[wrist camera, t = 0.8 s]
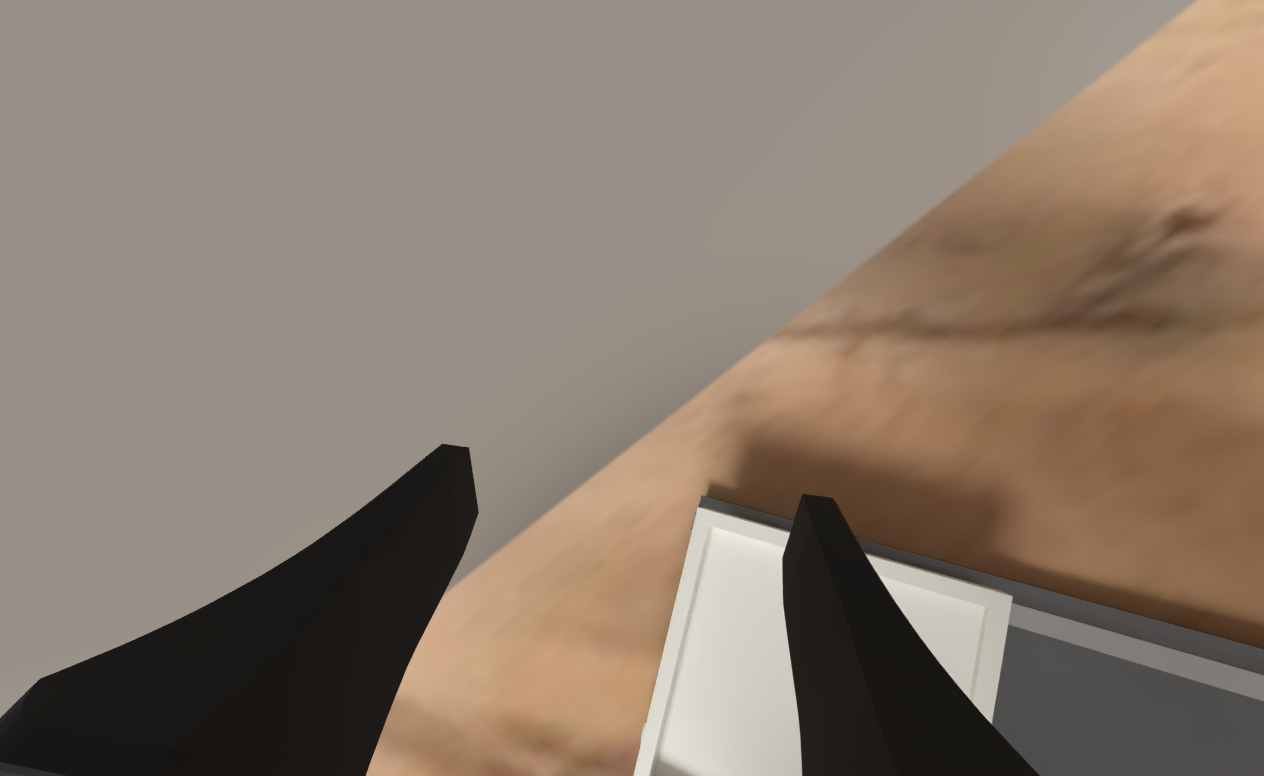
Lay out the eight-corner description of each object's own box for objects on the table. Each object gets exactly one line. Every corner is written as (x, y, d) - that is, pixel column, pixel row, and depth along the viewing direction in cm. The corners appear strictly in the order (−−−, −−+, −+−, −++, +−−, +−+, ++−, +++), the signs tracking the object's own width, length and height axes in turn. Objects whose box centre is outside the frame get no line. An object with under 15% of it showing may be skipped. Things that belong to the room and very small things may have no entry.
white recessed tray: (941, 904, 20) (952, 959, 18) (654, 761, 25) (630, 789, 22) (994, 587, 21) (1012, 596, 19) (713, 508, 26) (698, 507, 23)
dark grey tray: (1412, 1125, 16) (1497, 1218, 14) (645, 749, 26) (625, 770, 24) (1442, 697, 18) (1523, 722, 16) (705, 496, 28) (692, 494, 26)
